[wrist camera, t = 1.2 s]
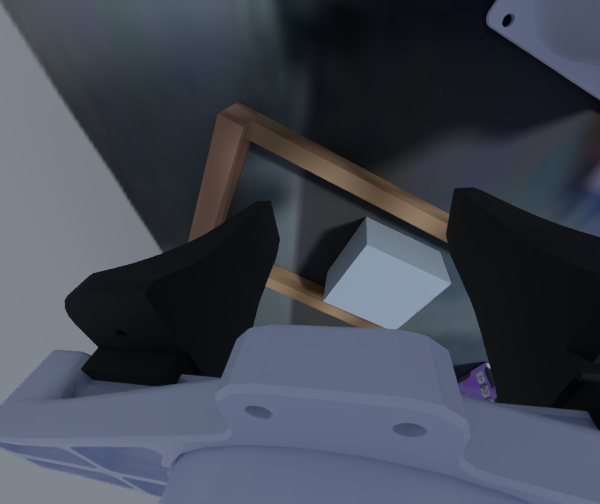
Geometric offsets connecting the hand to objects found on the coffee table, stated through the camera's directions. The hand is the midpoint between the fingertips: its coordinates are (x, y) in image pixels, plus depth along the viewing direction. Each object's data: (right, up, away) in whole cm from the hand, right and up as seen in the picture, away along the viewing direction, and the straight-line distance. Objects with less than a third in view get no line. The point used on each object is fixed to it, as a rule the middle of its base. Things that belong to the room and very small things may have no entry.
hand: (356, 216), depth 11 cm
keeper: (+5, -2, +14) cm, 15 cm away
